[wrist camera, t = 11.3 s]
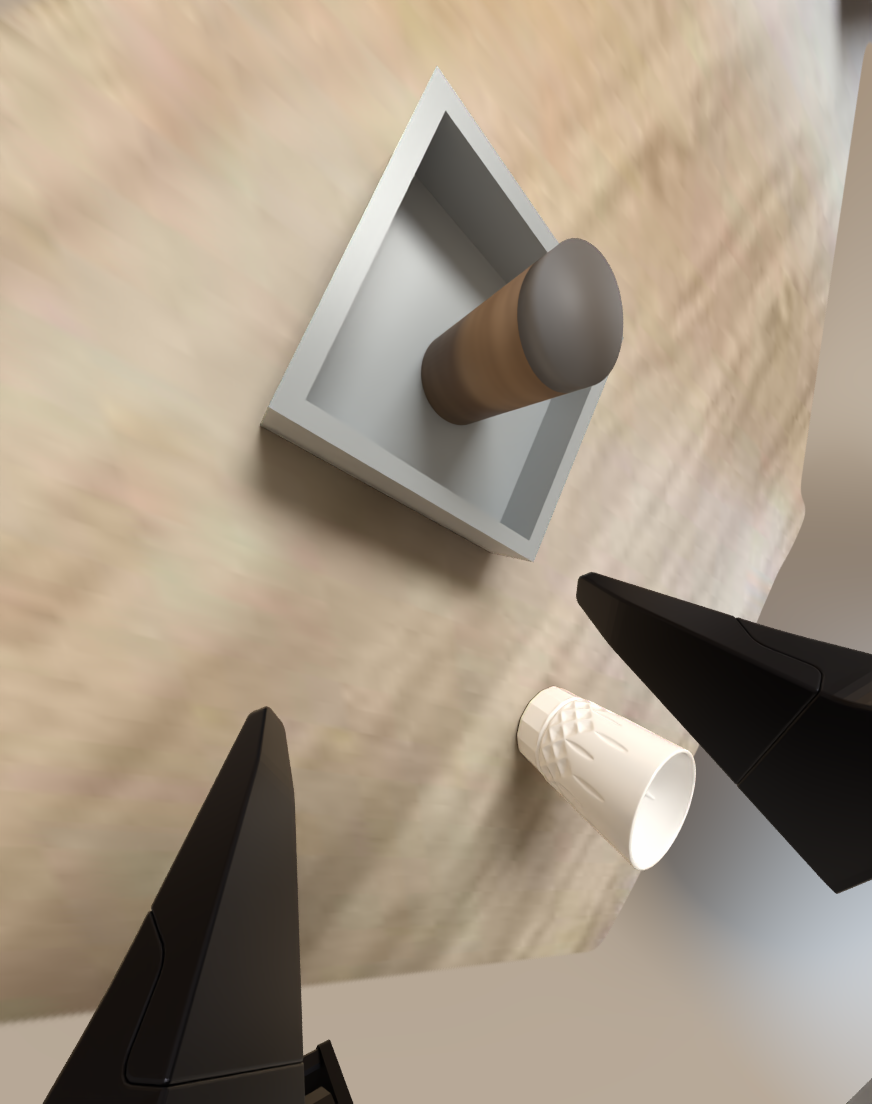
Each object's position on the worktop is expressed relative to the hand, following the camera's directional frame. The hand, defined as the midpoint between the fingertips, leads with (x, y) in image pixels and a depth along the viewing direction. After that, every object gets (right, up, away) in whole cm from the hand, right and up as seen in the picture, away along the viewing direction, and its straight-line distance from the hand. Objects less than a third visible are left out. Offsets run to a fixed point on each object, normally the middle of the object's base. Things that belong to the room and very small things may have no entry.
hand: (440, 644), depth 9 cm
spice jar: (+1, +13, +11) cm, 17 cm away
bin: (+1, +13, +12) cm, 17 cm away
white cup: (+9, -13, +21) cm, 26 cm away
